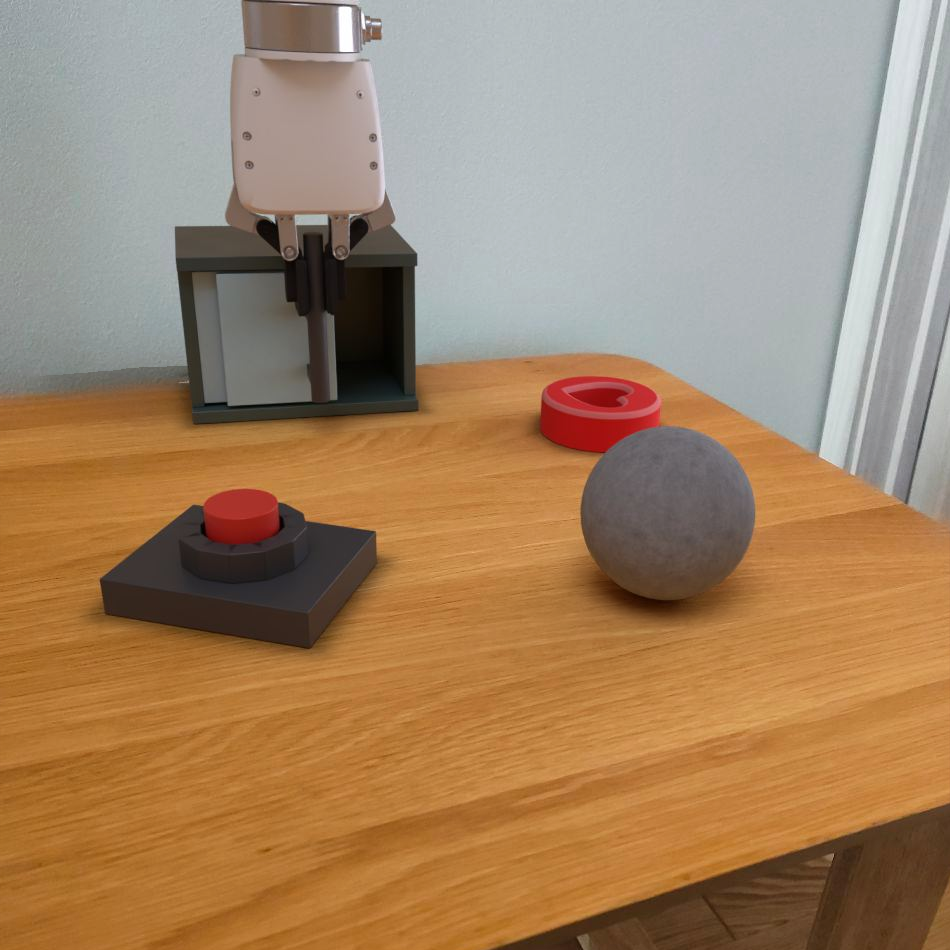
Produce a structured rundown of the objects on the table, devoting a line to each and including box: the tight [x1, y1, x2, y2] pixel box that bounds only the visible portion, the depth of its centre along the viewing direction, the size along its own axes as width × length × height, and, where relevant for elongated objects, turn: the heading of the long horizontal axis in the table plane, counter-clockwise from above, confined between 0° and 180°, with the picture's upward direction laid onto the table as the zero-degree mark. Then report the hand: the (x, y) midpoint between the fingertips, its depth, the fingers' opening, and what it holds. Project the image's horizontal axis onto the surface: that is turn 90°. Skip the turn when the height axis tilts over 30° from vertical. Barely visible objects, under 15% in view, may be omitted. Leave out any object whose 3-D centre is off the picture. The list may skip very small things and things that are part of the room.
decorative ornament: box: [539, 375, 662, 453], centre depth 86 cm, size 10×10×3 cm
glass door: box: [216, 232, 337, 406], centre depth 80 cm, size 9×6×14 cm
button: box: [202, 488, 280, 545], centre depth 59 cm, size 4×4×2 cm
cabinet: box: [174, 224, 419, 425], centre depth 88 cm, size 18×12×13 cm, turn 107°
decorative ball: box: [579, 425, 756, 601], centre depth 61 cm, size 10×10×10 cm
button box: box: [99, 501, 378, 649], centre depth 60 cm, size 12×10×4 cm
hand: (316, 309), depth 78 cm, fingers closed
